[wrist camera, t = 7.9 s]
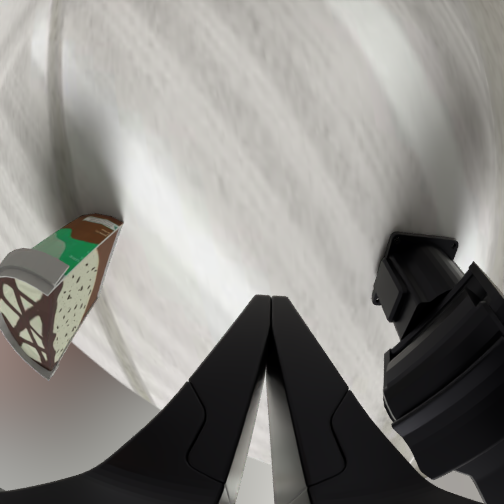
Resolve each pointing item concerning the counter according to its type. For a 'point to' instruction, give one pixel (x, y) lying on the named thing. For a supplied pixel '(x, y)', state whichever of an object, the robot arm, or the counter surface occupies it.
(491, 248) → the counter surface
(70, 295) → the food container
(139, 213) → the counter surface
